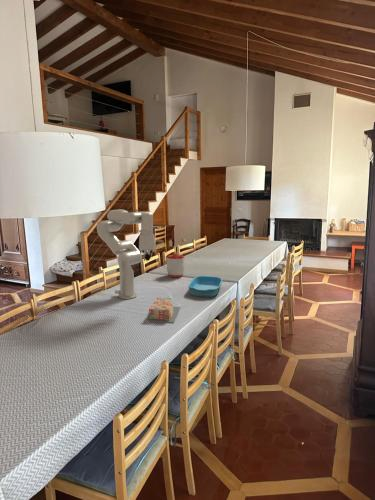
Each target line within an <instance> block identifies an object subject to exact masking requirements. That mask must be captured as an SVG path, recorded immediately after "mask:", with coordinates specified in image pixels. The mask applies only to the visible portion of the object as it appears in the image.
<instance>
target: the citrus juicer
mask: <svg viewBox="0 0 375 500" xmlns="http://www.w3.org/2000/svg"><path fill="white" fill-rule="evenodd" d="M185 257H186V256H184V255H182V254H181V255H180V254H178V253H176V252H175V253H173V254H171V255H167V257H166V258H165V259H166V260H165V261H164V263H165V264H166V272H167V276H168V277H169V278H181V277H183V276H184V273H185V272H184V271H185Z"/></svg>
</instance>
